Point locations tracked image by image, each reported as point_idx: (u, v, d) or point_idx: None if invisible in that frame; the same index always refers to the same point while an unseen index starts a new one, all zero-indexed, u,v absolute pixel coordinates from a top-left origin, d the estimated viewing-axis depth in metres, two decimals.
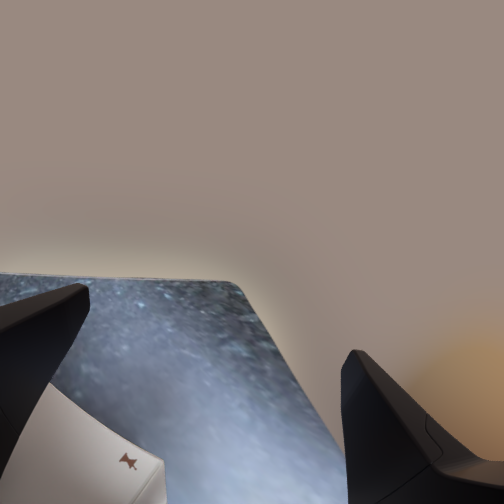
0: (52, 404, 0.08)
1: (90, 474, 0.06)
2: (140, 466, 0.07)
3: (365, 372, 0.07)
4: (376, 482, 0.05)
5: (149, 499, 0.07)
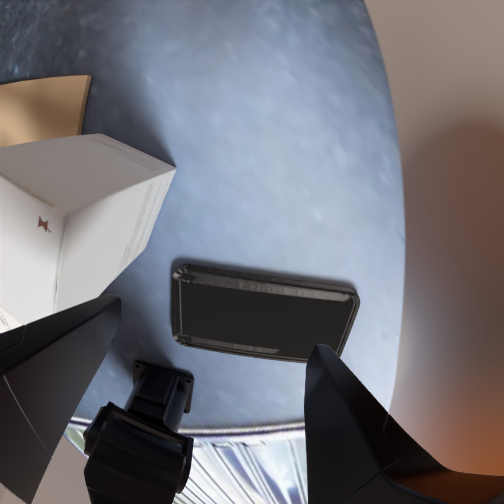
0: None
1: (26, 247, 0.09)
2: (52, 227, 0.09)
3: (325, 367, 0.07)
4: (332, 485, 0.05)
5: (82, 237, 0.10)
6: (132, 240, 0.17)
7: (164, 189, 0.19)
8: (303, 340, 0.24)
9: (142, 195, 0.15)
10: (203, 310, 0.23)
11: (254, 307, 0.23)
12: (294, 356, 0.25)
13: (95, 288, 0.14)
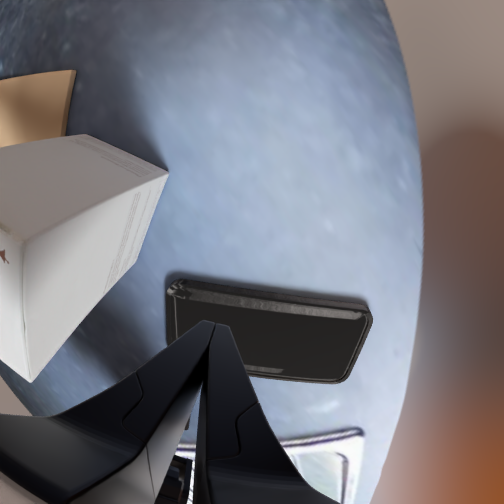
0: None
1: None
2: (9, 258, 0.06)
3: (209, 345, 0.07)
4: (197, 471, 0.05)
5: (50, 265, 0.08)
6: (118, 256, 0.15)
7: (155, 197, 0.17)
8: (310, 360, 0.22)
9: (126, 206, 0.13)
10: None
11: (257, 326, 0.21)
12: (299, 376, 0.22)
13: (76, 314, 0.12)
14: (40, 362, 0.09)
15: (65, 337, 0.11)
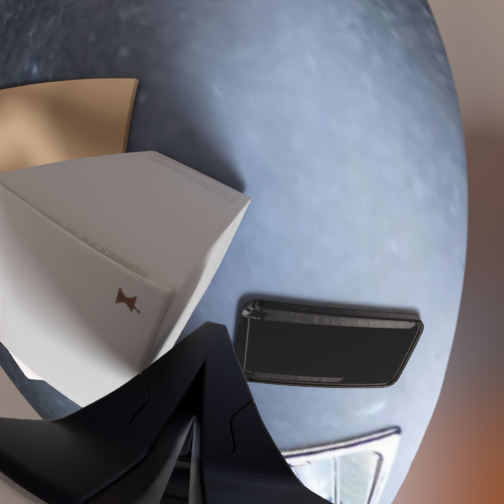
0: (22, 230, 0.06)
1: (93, 326, 0.07)
2: (143, 307, 0.06)
3: (205, 344, 0.07)
4: (192, 470, 0.05)
5: (179, 310, 0.08)
6: (205, 286, 0.15)
7: (238, 223, 0.17)
8: (367, 367, 0.22)
9: (227, 236, 0.13)
10: (271, 346, 0.22)
11: (326, 340, 0.21)
12: (356, 383, 0.23)
13: None
14: None
15: None
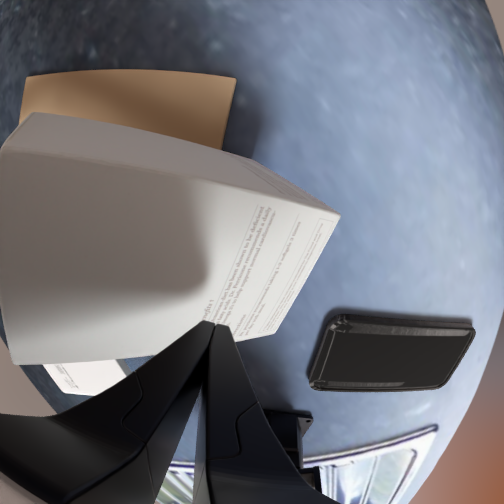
0: None
1: None
2: None
3: (209, 345, 0.07)
4: (197, 471, 0.05)
5: (44, 214, 0.05)
6: (225, 301, 0.11)
7: (311, 241, 0.12)
8: (426, 371, 0.22)
9: (240, 218, 0.09)
10: (350, 357, 0.21)
11: (398, 349, 0.21)
12: (413, 386, 0.23)
13: (116, 338, 0.09)
14: (30, 351, 0.07)
15: (89, 356, 0.09)
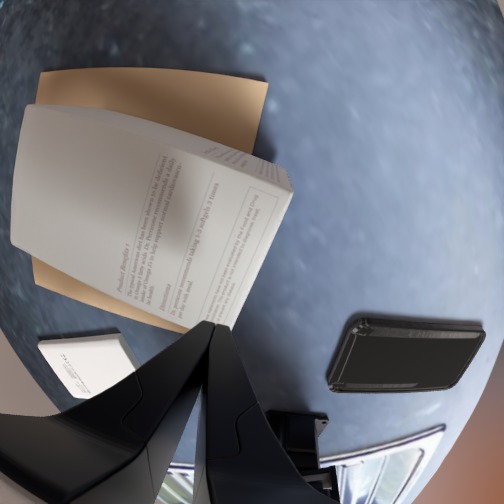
0: None
1: None
2: None
3: (209, 345, 0.07)
4: (197, 471, 0.05)
5: (35, 140, 0.09)
6: (142, 253, 0.11)
7: (243, 215, 0.10)
8: (438, 373, 0.22)
9: (143, 164, 0.10)
10: (368, 359, 0.21)
11: (414, 351, 0.21)
12: (426, 387, 0.23)
13: (61, 248, 0.11)
14: (19, 234, 0.11)
15: (47, 257, 0.11)
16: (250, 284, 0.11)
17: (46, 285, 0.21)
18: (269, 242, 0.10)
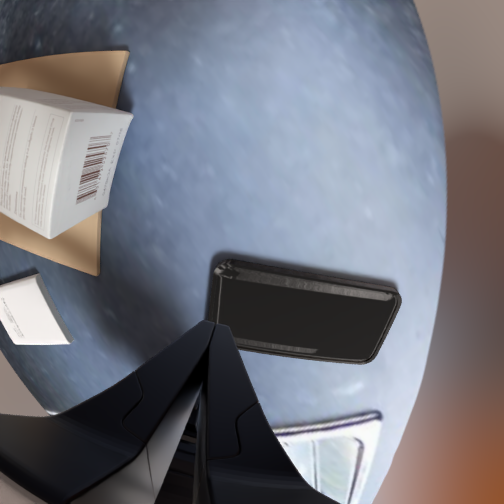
0: None
1: None
2: None
3: (209, 345, 0.07)
4: (197, 471, 0.05)
5: None
6: (5, 171, 0.12)
7: (47, 133, 0.11)
8: (343, 340, 0.23)
9: (7, 112, 0.10)
10: (243, 309, 0.22)
11: (298, 306, 0.22)
12: (331, 356, 0.24)
13: None
14: None
15: None
16: (54, 185, 0.12)
17: None
18: (61, 150, 0.11)
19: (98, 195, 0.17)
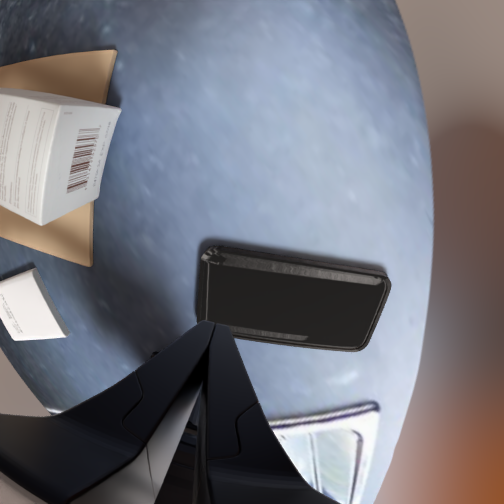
0: None
1: None
2: None
3: (209, 345, 0.07)
4: (197, 471, 0.05)
5: None
6: (1, 164, 0.12)
7: (38, 126, 0.11)
8: (333, 326, 0.23)
9: (3, 109, 0.11)
10: (232, 295, 0.23)
11: (286, 291, 0.22)
12: (322, 344, 0.24)
13: None
14: None
15: None
16: (45, 173, 0.12)
17: None
18: (51, 141, 0.12)
19: (88, 186, 0.18)
